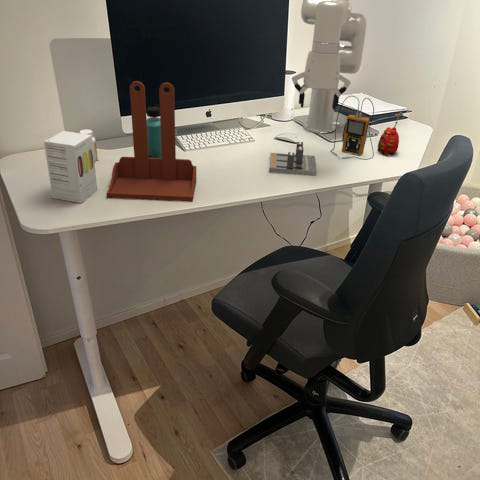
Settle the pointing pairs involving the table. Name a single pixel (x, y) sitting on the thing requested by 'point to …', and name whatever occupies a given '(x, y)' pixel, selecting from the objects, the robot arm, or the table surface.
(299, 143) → the block
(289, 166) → the breaker near
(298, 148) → the breaker mid
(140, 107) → the hanging shelf
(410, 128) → the table surface
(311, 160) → the panel
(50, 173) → the supplement box
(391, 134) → the red clay folk toy
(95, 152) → the supplement bottle
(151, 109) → the beverage bottle
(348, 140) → the multimeter
